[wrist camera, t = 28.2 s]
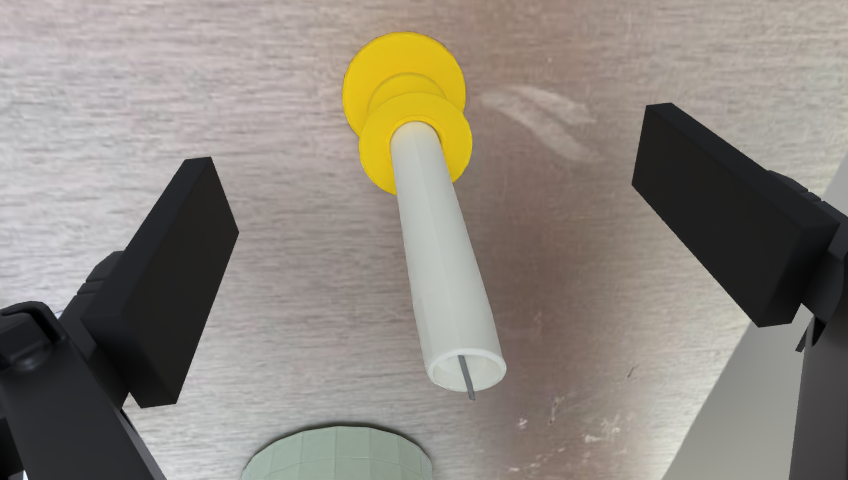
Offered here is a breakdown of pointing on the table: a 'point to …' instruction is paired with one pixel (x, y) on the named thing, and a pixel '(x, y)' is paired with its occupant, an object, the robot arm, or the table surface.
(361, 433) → the bowl
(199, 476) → the table surface
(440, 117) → the candle
